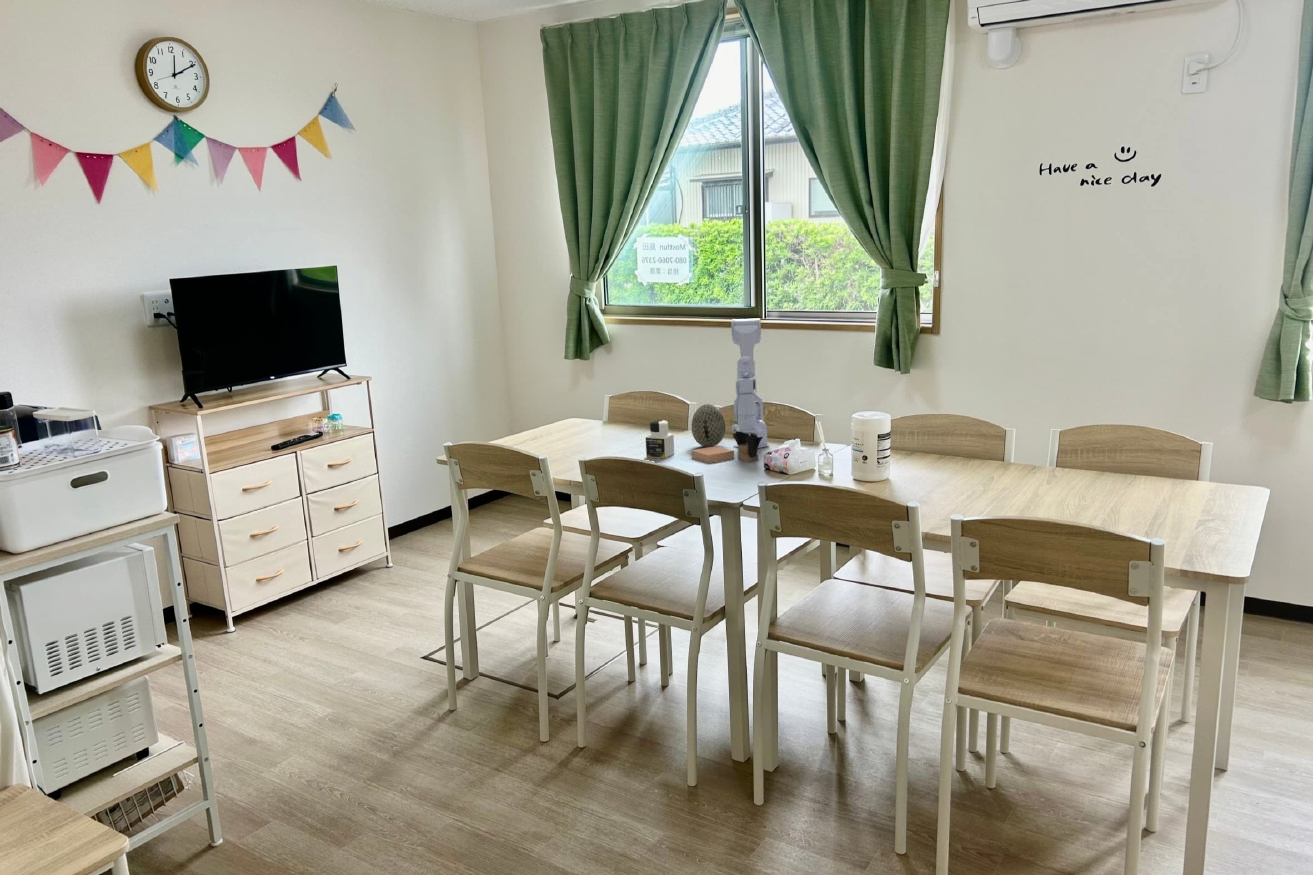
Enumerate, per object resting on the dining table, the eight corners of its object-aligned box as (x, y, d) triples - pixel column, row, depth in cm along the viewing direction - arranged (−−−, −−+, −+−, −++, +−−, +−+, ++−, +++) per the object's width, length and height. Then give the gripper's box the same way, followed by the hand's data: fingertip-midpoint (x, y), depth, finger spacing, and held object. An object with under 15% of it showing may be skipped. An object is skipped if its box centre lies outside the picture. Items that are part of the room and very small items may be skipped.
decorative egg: (724, 450, 326) (722, 407, 323) (690, 450, 328) (688, 407, 325) (727, 443, 338) (725, 401, 335) (694, 443, 340) (692, 401, 337)
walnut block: (749, 457, 314) (749, 442, 313) (758, 459, 310) (757, 444, 309) (738, 459, 312) (737, 444, 311) (746, 462, 308) (746, 446, 307)
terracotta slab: (716, 454, 323) (716, 445, 322) (734, 459, 314) (733, 450, 314) (691, 459, 318) (691, 450, 317) (709, 464, 309) (708, 455, 309)
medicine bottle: (646, 457, 321) (644, 422, 319) (656, 452, 328) (654, 418, 325) (665, 458, 318) (663, 423, 316) (674, 454, 324) (673, 419, 322)
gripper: (723, 413, 312) (724, 453, 315) (750, 419, 300) (751, 461, 303) (740, 410, 316) (742, 450, 318) (768, 415, 304) (769, 457, 306)
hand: (748, 455), depth 311 cm, fingers closed on walnut block, 5 cm apart
